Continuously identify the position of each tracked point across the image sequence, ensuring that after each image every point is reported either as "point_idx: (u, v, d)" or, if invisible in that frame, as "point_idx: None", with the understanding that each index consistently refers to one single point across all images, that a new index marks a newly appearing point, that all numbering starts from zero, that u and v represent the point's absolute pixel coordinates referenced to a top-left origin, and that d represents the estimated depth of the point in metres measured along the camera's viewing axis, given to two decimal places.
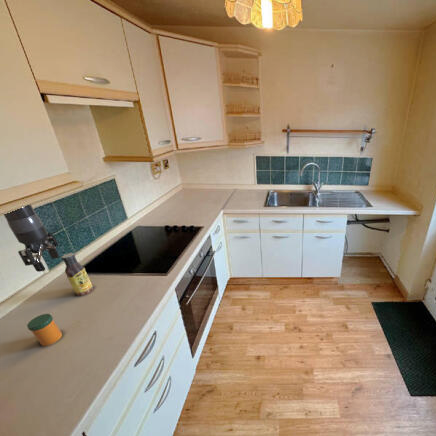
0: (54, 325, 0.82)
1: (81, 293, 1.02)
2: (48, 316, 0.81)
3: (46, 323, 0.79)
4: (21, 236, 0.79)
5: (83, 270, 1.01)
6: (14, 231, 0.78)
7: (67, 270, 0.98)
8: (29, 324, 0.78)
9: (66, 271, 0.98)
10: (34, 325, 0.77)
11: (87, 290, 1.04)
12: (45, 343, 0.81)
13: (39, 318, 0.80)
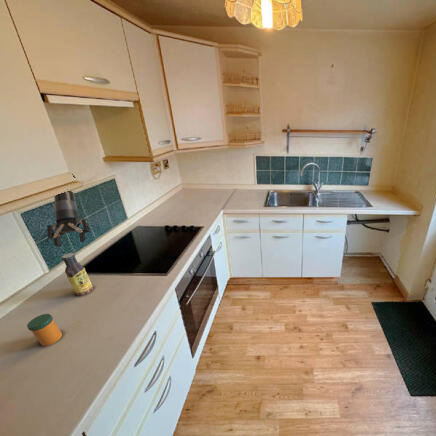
0: (54, 325, 0.82)
1: (81, 293, 1.02)
2: (48, 316, 0.81)
3: (46, 323, 0.79)
4: (76, 212, 1.08)
5: (83, 270, 1.01)
6: (73, 208, 1.07)
7: (67, 270, 0.98)
8: (29, 324, 0.78)
9: (66, 271, 0.98)
10: (34, 325, 0.77)
11: (87, 290, 1.04)
12: (45, 343, 0.81)
13: (39, 318, 0.80)
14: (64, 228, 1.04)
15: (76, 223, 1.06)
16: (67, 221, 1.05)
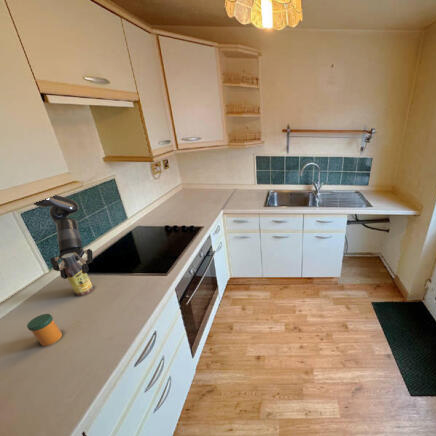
0: (54, 325, 0.82)
1: (81, 293, 1.02)
2: (48, 316, 0.81)
3: (46, 323, 0.79)
4: (80, 241, 1.05)
5: None
6: (77, 236, 1.04)
7: (67, 270, 0.97)
8: (29, 324, 0.78)
9: (66, 271, 0.98)
10: (34, 325, 0.77)
11: (87, 290, 1.04)
12: (45, 343, 0.81)
13: (39, 318, 0.80)
14: None
15: (81, 253, 1.03)
16: (71, 251, 1.02)
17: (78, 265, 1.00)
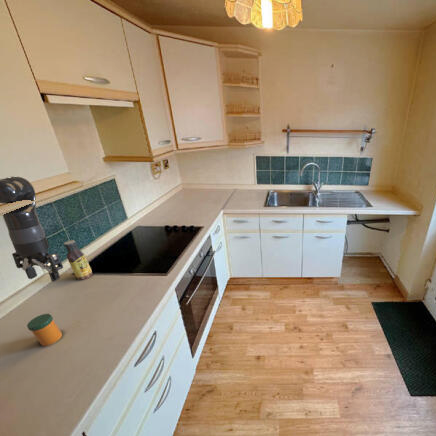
0: (54, 325, 0.82)
1: (81, 277, 1.12)
2: (48, 316, 0.81)
3: (46, 323, 0.79)
4: (40, 244, 0.76)
5: (83, 256, 1.11)
6: (33, 240, 0.74)
7: (69, 256, 1.07)
8: (29, 324, 0.78)
9: (68, 257, 1.07)
10: (34, 325, 0.77)
11: (87, 275, 1.13)
12: (45, 343, 0.81)
13: (39, 318, 0.80)
14: (31, 262, 0.78)
15: (42, 259, 0.77)
16: (31, 254, 0.76)
17: (79, 251, 1.10)
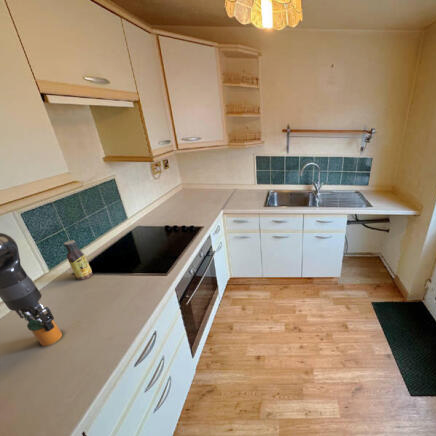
0: (54, 325, 0.82)
1: (81, 277, 1.12)
2: None
3: None
4: (28, 298, 0.73)
5: (83, 256, 1.11)
6: (19, 296, 0.71)
7: (69, 256, 1.07)
8: (29, 324, 0.78)
9: (68, 257, 1.07)
10: (34, 325, 0.77)
11: (87, 275, 1.13)
12: (45, 343, 0.81)
13: None
14: None
15: (34, 313, 0.75)
16: None
17: (79, 251, 1.10)
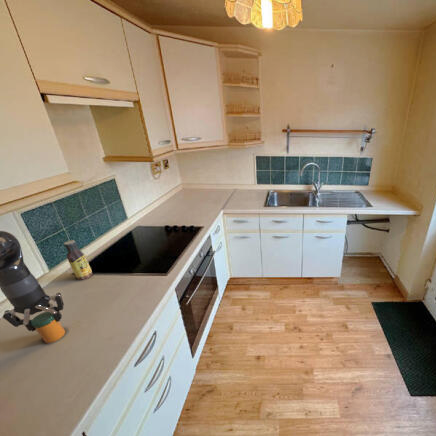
0: (58, 322, 0.83)
1: (81, 277, 1.12)
2: (47, 312, 0.82)
3: None
4: (40, 288, 0.77)
5: (83, 256, 1.11)
6: (35, 286, 0.75)
7: (69, 256, 1.07)
8: (36, 323, 0.78)
9: (68, 257, 1.07)
10: (45, 319, 0.79)
11: (87, 275, 1.13)
12: (50, 340, 0.82)
13: (39, 317, 0.80)
14: (31, 311, 0.77)
15: (47, 303, 0.79)
16: None
17: (79, 251, 1.10)
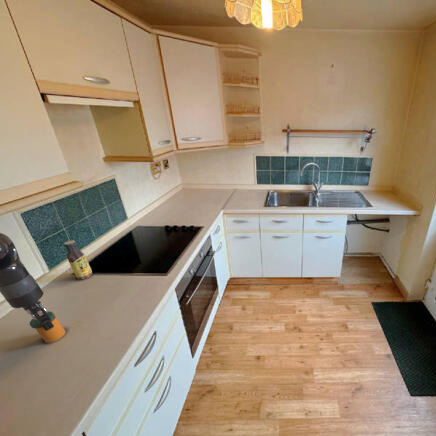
0: (58, 321, 0.83)
1: (81, 277, 1.12)
2: (32, 321, 0.79)
3: None
4: None
5: (83, 256, 1.11)
6: None
7: (69, 256, 1.07)
8: (50, 315, 0.81)
9: (68, 257, 1.07)
10: (47, 313, 0.82)
11: (87, 275, 1.13)
12: (50, 340, 0.82)
13: None
14: None
15: None
16: None
17: (79, 251, 1.10)
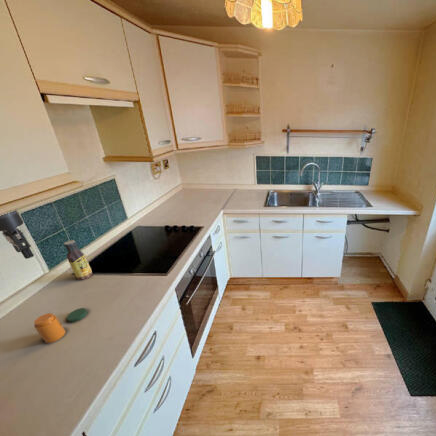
0: (58, 321, 0.83)
1: (81, 277, 1.12)
2: (68, 316, 0.91)
3: None
4: None
5: (83, 256, 1.11)
6: None
7: (69, 256, 1.07)
8: (83, 311, 0.93)
9: (68, 257, 1.07)
10: (81, 309, 0.94)
11: (87, 275, 1.13)
12: (50, 340, 0.82)
13: (75, 315, 0.91)
14: None
15: None
16: None
17: (79, 251, 1.10)
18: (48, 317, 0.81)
